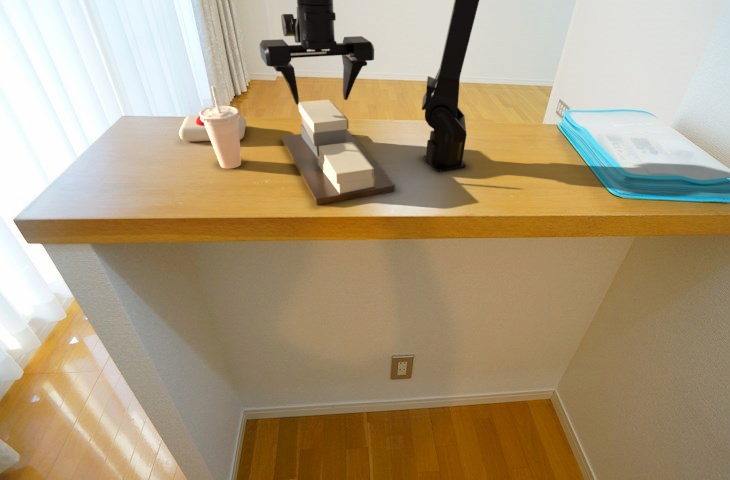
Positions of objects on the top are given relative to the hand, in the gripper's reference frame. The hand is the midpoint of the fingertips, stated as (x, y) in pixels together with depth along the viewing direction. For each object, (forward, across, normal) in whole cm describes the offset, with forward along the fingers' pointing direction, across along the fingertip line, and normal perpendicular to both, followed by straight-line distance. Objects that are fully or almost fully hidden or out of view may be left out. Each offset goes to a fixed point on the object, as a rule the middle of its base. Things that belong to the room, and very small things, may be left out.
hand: (321, 101), depth 77 cm
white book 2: (+7, 0, +13) cm, 15 cm away
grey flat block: (+6, 0, 0) cm, 6 cm away
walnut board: (+10, 0, +6) cm, 12 cm away
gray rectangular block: (+9, 0, 0) cm, 9 cm away
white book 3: (+9, 0, +13) cm, 15 cm away
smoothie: (+10, +18, 0) cm, 21 cm away
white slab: (+10, +19, -15) cm, 26 cm away
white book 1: (+4, 0, 0) cm, 4 cm away
